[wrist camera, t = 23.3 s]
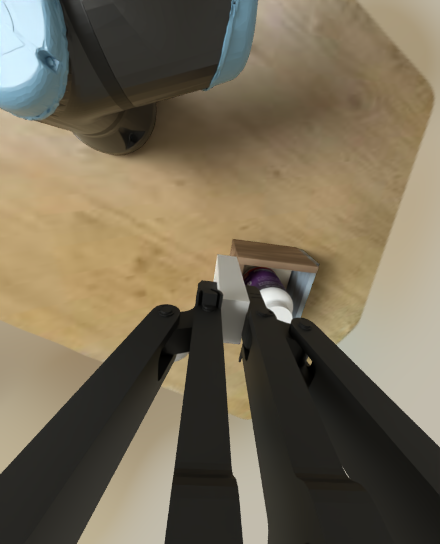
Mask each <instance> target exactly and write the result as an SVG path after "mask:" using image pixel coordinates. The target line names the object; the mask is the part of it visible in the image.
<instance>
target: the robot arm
mask: <svg viewBox="0 0 440 544" xmlns="http://www.w3.org/2000/svg"><path fill="white" fill-rule="evenodd" d="M257 5H258V0H0V109H3V110H5V111H7V112H9V113H11V114H13V115H15V116H17V117H19V118H23V119H25V120H27V119H28V120H31V121H32V120H34V121H38V122H41V123H45V124H48V125H52V126H55V127H58V128H62V129H65V130H69V131H72V132H73V134H74V135H75V136H76V137H77V138H78V139H80V140H81V141H82V142H83V143H85V144H86V145H88V146H89V147H91V148H93V149H95V150H97V151H100V152H103V153H108V154H113V155H123V154H128V153H131V152H134V151H135V150H137V149H139V148H140V147H141V146H142V145H143V144H144V143H145V142H146V141H147V140H148V138H149V137H150V135H151V133H152V130H153V128H154V124H155V119H156V102H158V101H162V100H165V99H169V98H173V97H176V96H180V95H183V94H187V93H191V92H194V91H198V90H203V91H208V90H210V89H211V88H213V86H216V85H219V84H222V83H225V82H228V81H231V80H233V79H234V78H236V77H237V76H238V75H239V74H240V72H241V71H242V70H243V69H244V67H245V65H246V63H247V60H248V57H249V54H250V51H251V46H252V42H253V37H254V31H255V24H256V15H257ZM241 338H242V340H243V344H242V348H241V352H240V357H239V362H241V359H243V366H244V372H245V378H246V385H247V391H248V397H249V404H250V410H251V417H252V422H253V429H254V435H255V442H256V448H257V454H258V461H259V467H260V473H261V480H262V487H263V493H264V499H265V506H266V512H267V518H268V544H440V447H439V446H438V445H437V444H436V443H435V442H434V441H433V440H432V439H431V438H430V437H429V436H428V435H427V434H426V433H425V432H424V431H423V430H422V429H421V428H420V427H418V425H417V424H415V422H413V420H411V419H410V417H408V416H407V415H406V414H405V413H404V412H403V411H402V410H401V409H400V408H399V407H398V406H397V405H396V404H395V403H394V402H393V401H392V400H391V399H390V398H389V397H388V396H387V395H386V394H385V393H384V392H383V391H382V390H381V389H380V388H379V387H378V386H377V385H376V384H375V383H374V382H373V381H372V380H371V379H370V378H369V377H368V376H367V375H366V374H365V373H364V372H363V371H362V370H361V369H360V368H359V367H358V366H357V365H356V364H355V363H354V362H353V361H352V360H351V359H350V358H349V357H348V356H347V355H346V354H345V353H344V352H343V351H342V350H341V349H339V347H338V346H337V345H336V344H335V343H334V342H333V341H332V340H331V339H329V338H328V337H327V336H326V335H325V334H324V333H323V332H322V331H321V330H320V329H319V328H318V327H317V326H316V325H315V324H314V323H313V322H311V321H309V320H308V319H304V318H293V319H292V320H291V323H286V322H283V321H280V320H278V319H277V317H276V315H275V314H274V312H273V311H271V310H270V309H268V308H267V307H266V305H265V302H264V300H263V297H262V295H261V292H260V290H259V289H258V288H257V287H256V286H251V285H245V284H244V280H243V277H242V273H241V270H240V266H239V263H238V260H237V257H234V256H226V255H218V254H217V261H216V268H215V275H214V282H211V281H203V280H202V281H201V282H200V283H198V290H197V295H196V304H195V307H194V308H193V309H191V310H189V311H185V312H180V310H179V309H178V308H177V307H176V306H173V305H168V304H165V305H159V306H156V307H155V308H154V309H153V310H152V311H151V312H150V313H149V314H148V315H147V316H146V317H145V318H144V319H143V320H142V321H141V323H140V324H139V325H138V326H137V327H136V328H135V329H134V330H133V331H132V332H131V333H130V334H129V336H128V337H127V338H126V339H125V340H124V341H123V342H122V343H121V344H120V345H119V346H118V347H117V349H116V350H115V351H114V352H113V353H112V354H111V355H110V356H109V357H108V358H107V359H106V360H105V362H104V363H103V364H102V365H101V366H100V367H99V368H98V369H97V370H96V371H95V373H94V374H93V375H92V376H91V377H90V378H89V379H88V380H87V381H86V382H85V383H84V384H83V385H82V386H81V388H80V389H79V390H78V391H77V392H76V393H75V394H74V395H73V396H72V397H71V398H70V399H69V401H68V402H67V403H66V404H65V405H64V406H63V407H62V408H61V409H60V410H59V411H58V412H57V414H56V415H55V416H54V417H53V418H52V419H51V420H50V421H49V422H48V423H47V424H46V425H45V427H44V428H43V429H42V430H41V431H40V432H39V433H38V434H37V435H36V436H35V437H34V438H33V440H32V441H31V442H30V443H29V444H28V445H27V446H26V447H25V448H24V449H23V450H22V451H21V453H20V454H19V455H18V456H17V457H16V458H15V459H14V460H13V461H12V462H11V464H9V466H8V467H7V468H6V469H5V470H4V471H3V472H2V473H1V474H0V544H77V542H78V540H79V538H80V536H81V534H82V533H83V531H84V529H85V527H86V525H87V523H88V521H89V519H90V518H91V516H92V514H93V512H94V510H95V508H96V506H97V505H98V503H99V501H100V499H101V497H102V495H103V493H104V492H105V490H106V488H107V486H108V484H109V482H110V480H111V478H112V476H113V475H114V473H115V471H116V469H117V467H118V465H119V463H120V461H121V460H122V458H123V456H124V454H125V452H126V450H127V448H128V447H129V445H130V443H131V441H132V439H133V437H134V435H135V433H136V432H137V430H138V428H139V426H140V424H141V422H142V420H143V419H144V416H145V415H146V413H147V411H148V409H149V407H150V405H151V403H152V402H153V400H154V398H155V396H156V394H157V392H158V390H159V389H160V387H161V385H162V383H163V381H164V379H165V377H166V375H167V374H168V372H169V370H170V368H171V366H172V364H173V362H174V361H175V359H176V356H177V354H181V353H186V352H189V359H188V366H187V374H186V382H185V390H184V398H183V406H182V413H181V421H180V430H179V437H178V445H177V452H176V460H175V468H174V475H173V482H172V490H171V497H170V505H169V513H168V520H167V528H166V537H165V544H243V538H242V526H241V514H240V502H239V493H238V486H237V482H236V479H235V477H234V476H233V473H232V466H231V453H230V437H229V424H228V423H229V422H228V407H227V392H226V377H225V362H224V347H223V343H232V344H240V342H241ZM308 357H309V358H310V359H311V360H312V364H311V365H309V364H308V362H307V358H308ZM342 466H343V467H342ZM343 468H344V469H343ZM344 470H345V471H346V473H347V474H348V476H349V478H348V476H347V475H346V473H345V471H344ZM350 479H351V480H350Z"/></svg>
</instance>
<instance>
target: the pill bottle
mask: <svg viewBox="0 0 440 544" xmlns="http://www.w3.org/2000/svg"><path fill="white" fill-rule="evenodd" d="M243 280H244V284H245V285H251V286H256V287H257V288H258V289H259V290H260V292H261V295H262V297H263V300H264V302H265V305H266V307H267V308H268V309H270V310H271V311H273V312H274V314H275V315H276V317H277V319H278V320H280V321H283V322H286V323H291V320H292V311H293V302H292V299H291V297H290V295H289V294H288V292H287V291H286V289H285V287H284V286H283V284H282V283H281V281H280V280H279V278H278V276H277V275H276V273H275V272H274V271H273V270H272V269H271V268H268V267H260V266H255V267H252V268H250V269H249V270H247V271H246V272H245V273H244V275H243Z"/></svg>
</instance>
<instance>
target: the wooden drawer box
mask: <svg viewBox="0 0 440 544" xmlns="http://www.w3.org/2000/svg"><path fill="white" fill-rule="evenodd" d="M230 256H234V257H237V260H238V263H239V266H240V270H241V273H243V268H244V265H252V266H260V267H268V268H276V269H284V270H292V271H300V272H308V273H316V274H317V271H318V268H319V267H318V266H317V265H316V264H315V263H313V262H312V261H311V260H310V259H309V258H308V257H307V256H306V255H304V254H303V253H302V252H301V251H300V250H299V249H298V248H296V247H288V246H281V245H273V244H266V243H258V242H251V241H243V240H236V239H233V241H232V247H231V253H230Z"/></svg>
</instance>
